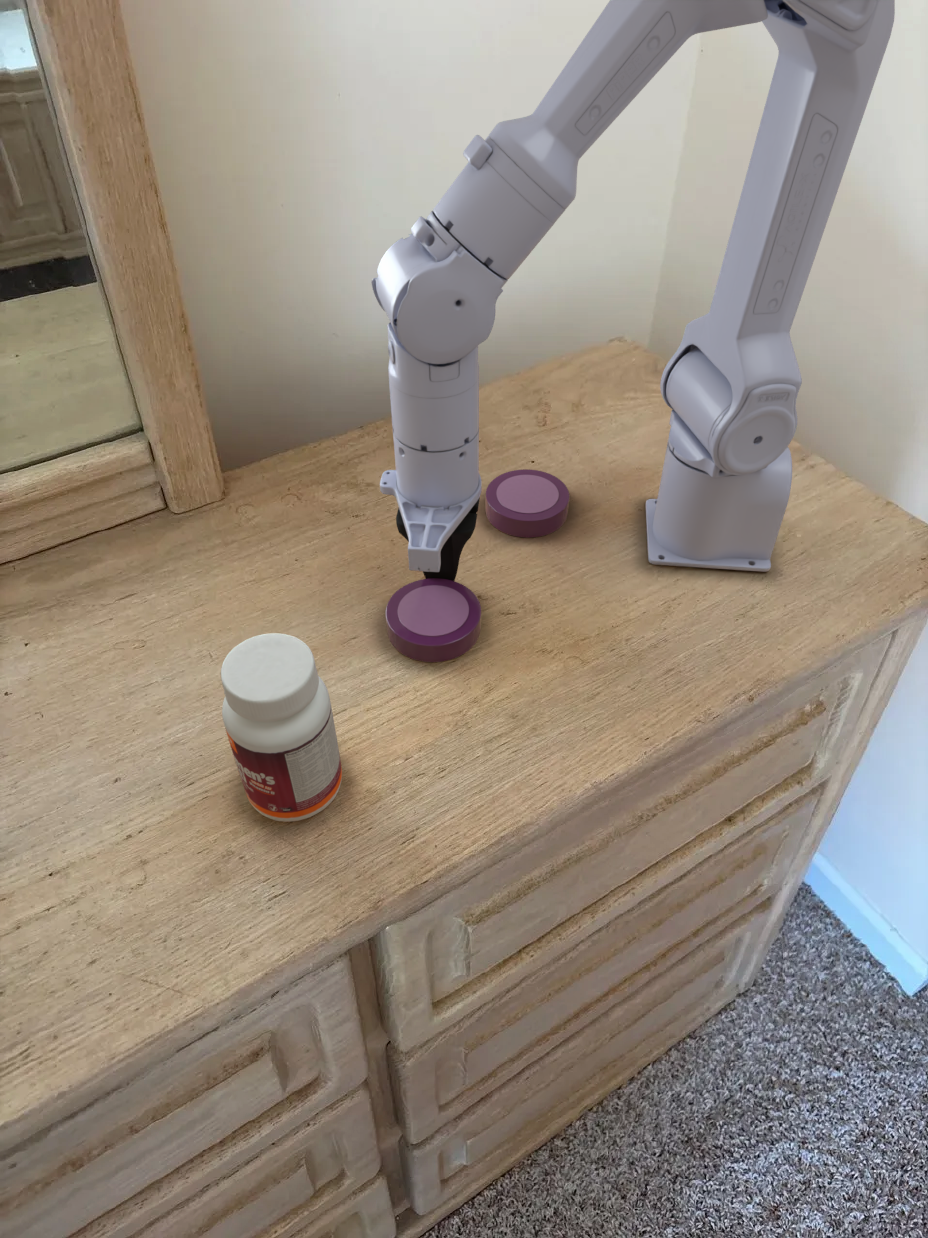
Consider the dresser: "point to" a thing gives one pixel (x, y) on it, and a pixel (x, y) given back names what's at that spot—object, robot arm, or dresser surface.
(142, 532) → the dresser surface
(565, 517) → the purple round puck
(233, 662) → the pill bottle
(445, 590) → the purple disc
